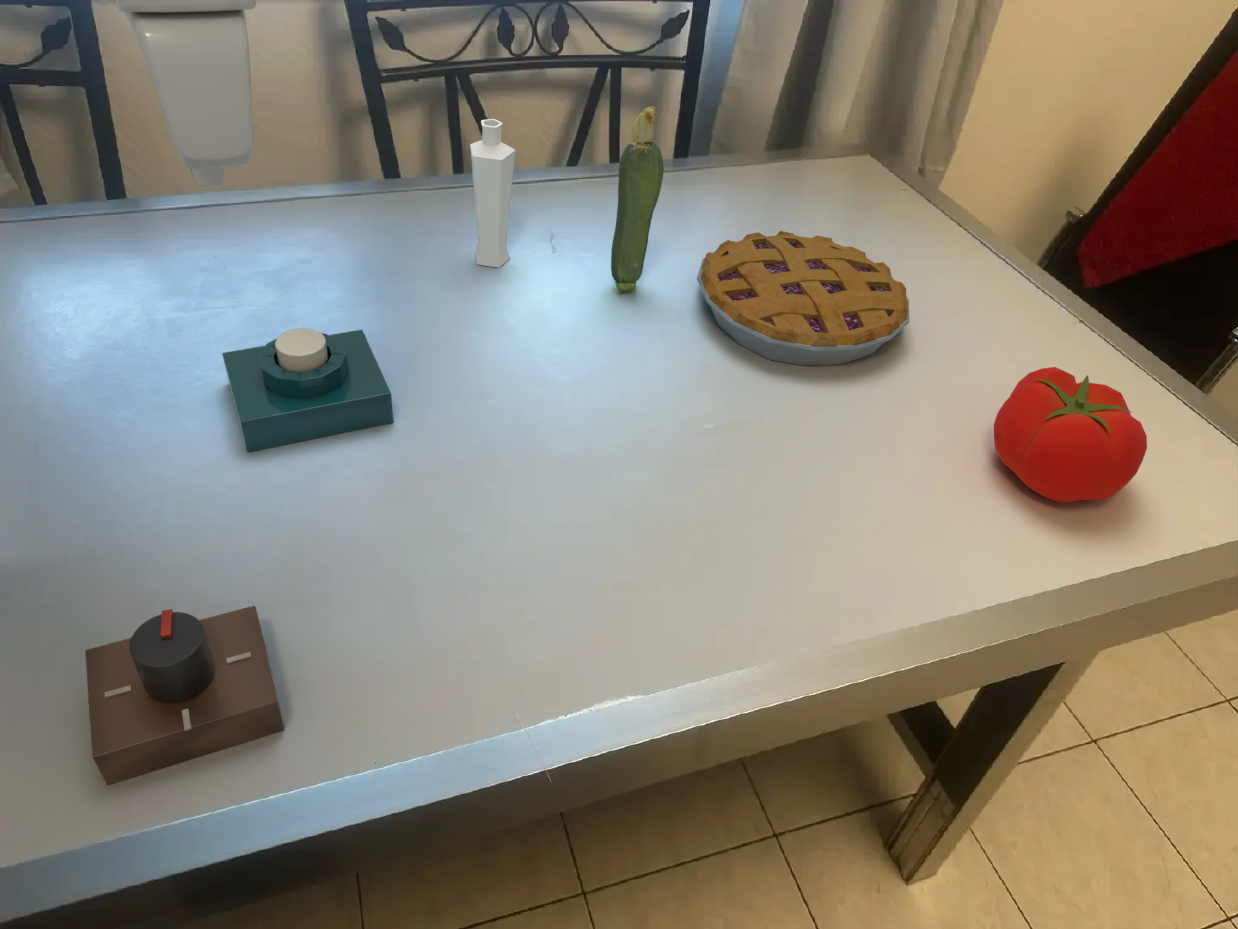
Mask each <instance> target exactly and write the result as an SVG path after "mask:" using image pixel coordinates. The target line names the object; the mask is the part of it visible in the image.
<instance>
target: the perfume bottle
mask: <svg viewBox="0 0 1238 929" xmlns="http://www.w3.org/2000/svg"><path fill="white" fill-rule="evenodd" d="M480 124H481V129H482V130H481V131H482V132H481V133H482V134H481V135H482V136H481V138H482V139H481V140H478V141H476V142H475V141H474V142H472V143H470V145H469V147H470V159H471V160H470V161H471V170H472V172H471V173H472V183H473V184H472V185H473V197H474V210H475V219H476V220H475V222H476V235H477V245H476V249H475V251H474V257H475V263H476V265H478V266H484V267H485V266H486V267H492V268H501V267H502V266H503V265H505V264H506V263H507V262H508V261H510V260H511V257H510V253H509V250H508V234H509V223H510V213H511V212H510V210H511V202H512V201H511V200H512V189H513V179H514V167H515V156H516V149H515V148H513V147H511V146H509V145H507V144H506V143H503V142H502V126H503V122H502V121H499V120H498V119H496V118H487V119H482V120H481V121H480Z"/></svg>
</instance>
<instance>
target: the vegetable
mask: <svg viewBox="0 0 1238 929" xmlns="http://www.w3.org/2000/svg"><path fill="white" fill-rule="evenodd" d="M642 110H643V111H642V112H640V113H639V114H638V115H637V117H636V118H635V120H634V121H633V124H632V128H631V136H632V138H633V141H631V142H630V143H628V145H626V147H625V148H624V150H623V152H622V154H621V156H620V159H619V162H618V163H619V165H618V187H617V210H616V217H615V218H616V219H615V227H614V232H613V238H612V242H611V254H610V272H611V276H612V278H613V280H614V283H615V288H616V291H617V293H618V295H619V294H621V293H622V292H630V291H635V290H636V287H637V282H638V281H639V280H640V279H641V277H642V274H643V271H644V264H645V259H646V254H647V250H648V245H649V236H650V229H651V224H652V219H653V215H654V211H655V208H656V206H657V203H658V201H659V197H660V193H661V190H662V189H661V188H662V184H663V178H664V167H665V166H664V160H663V154H662V152H661V149H660V148H659V146H658V145H657V143H655V142H654V141H653V140H654V136H655V127H654V125H657V123H656V122H655V120H656V115H655V114H657V111H656V106H652V105H651V106H648V107H645V108H643V109H642Z"/></svg>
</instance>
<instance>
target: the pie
mask: <svg viewBox="0 0 1238 929" xmlns="http://www.w3.org/2000/svg"><path fill="white" fill-rule="evenodd" d="M696 281H697V283H698V286H699V287H700V290H701V292H702V295H703V296H704V299H705V301H706V303H707V304H708V305H709V307H710V309H711V312H712V314H713V316H714V319H715V320H716V323H717V325H718V327H720V328H721V329H722V330H723V331H724V332H725V333H726V334H727V335H729V336H730V337H731V338H732V339H733V340H734V341H735V342H736V343H737V344H739V345H740V346H741V347H743V348H745V349H747V350H749V351H751V352H752V353H754V354H757V355H759V356H761V357H762V358H765V359H766V360H769V361H775V362H781V363H787V364H792V365H797V366H826V365H827V366H830V365H831V366H833V365H842V364H846V363H849V362H853V361H856V360H859V359H862V358H865V357H869V356H871V355H872V354H873V353H875V352H876V351H877V350H879V349H880V348H881V346H883V345H884V344H885V343H886V342H888V341H890V340H893V339H894V337H896V335H898V334H899V333H900V332H901V331H902V330H903V329H904V328H906V327H907V326H908V325H909V324H910V321H911V320H910V300H909V298H908V296H907V288H906V286H905V285H904V283H903V282H902V281H898V280H895V279H894V278H893V276H892V273H891V268H890V267H889V266H888V265H887V264H886V263H885V262H882V261H881V262H874V261H873V260H871V259H870V258H868V257H867V254H866V252H864V251H862V250H861V249H858V248H856V247H853V246H843V245H840V244H837V243H835V242H834V241H833V239H832V238H831V237H827V236H823V235H818V234H817V235H815V236H811V237H809V236H807V237H806V236H799V235H797V234H794V232H788V231H783V230H779V231H778V233H777V234H775V235H764V234H762V233H760V232H758V231H757V232H753V233H749V234H746V235H745V236H744V237H743V239H742V240H738V241H734V240H729V239H727V240H725V241H724V242H721V243H720V244H719V246H718V247H717V248H716V250H714V251H713V252H711V251H710V252H706V254H705V257H703V258H702V260H701V263H700V267H699V270H698V272H697V276H696Z"/></svg>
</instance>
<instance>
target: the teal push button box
mask: <svg viewBox="0 0 1238 929" xmlns="http://www.w3.org/2000/svg"><path fill="white" fill-rule="evenodd" d="M320 333H321V334H323V336H324V337H325V339H326V346H327V353H328V359H327V361H326V363H325V364H324V365H322V366H320V367H319V368H317V369H313V370H308V371H302V372H297V371H289V370H286V369H284V368H282V367H281V366H280V364H279V363H278V358H277V352H276V347H275V342H276V340H277V338H275V339H272V340H271V341H269V342H267V343H265V345H261V346H255V347H250V348H249V347H248V348H244V349H237V350H231V351H225V352H222V353H221V355H222V359H223V364H224V367H225V372H226V377H227V381H228V385H229V389H230V393H231V396H232V400H233V404H234V407H235V412H236V415H237V419H238V423H239V426H240V430H241V434H242V438H243V441H244V446H245V449H246V452H247V453H251V452H256V451H261V450H266V449H271V448H275V447H276V448H277V447H280V446H285V445H290V444H295V443H301V442H306V441H310V440H314V439H315V440H316V439H319V438H325V437H329V436H333V435H334V436H335V435H339V434H344V433H349V432H353V431H358V430H359V431H360V430H363V429H369V428H372V427H377V426H382V425H383V426H384V425H388V424H392V423H395V422H394V411H393V400H392V392H391V390H390V387H389V386H388V384H387V383H388V382H387V381H386V379H385V376H384V374H383V372H382V370H381V368H380V366H379V364H378V361H377V360H376V356H375V355H374V353H373V350H372V348H371V346H370V343H369V342H368V339H367V337H366V335H365V333H364V330H363V329H356V330H351V331H345V332H339V333H333V334H332V333H331V334H328V333H323V332H320Z"/></svg>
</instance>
